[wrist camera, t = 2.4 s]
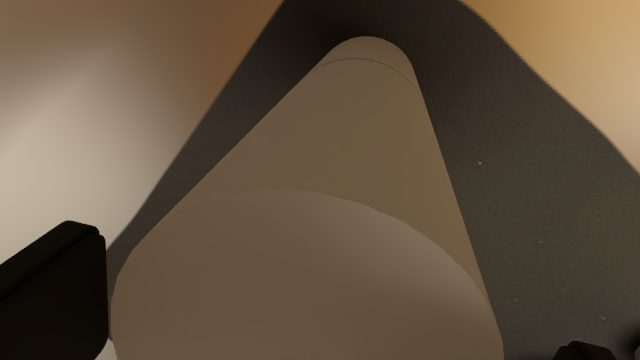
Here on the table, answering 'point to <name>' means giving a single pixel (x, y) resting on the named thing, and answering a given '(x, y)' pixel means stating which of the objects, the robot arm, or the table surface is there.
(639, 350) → the light bulb
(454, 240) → the cylindrical container
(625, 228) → the table surface
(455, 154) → the table surface
